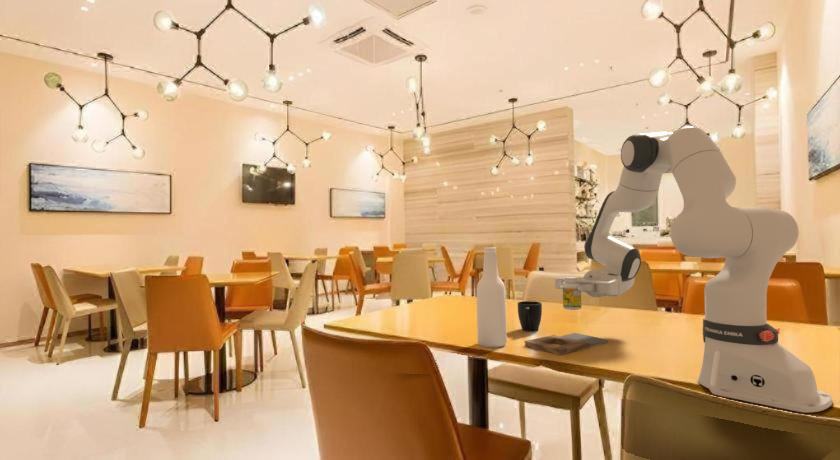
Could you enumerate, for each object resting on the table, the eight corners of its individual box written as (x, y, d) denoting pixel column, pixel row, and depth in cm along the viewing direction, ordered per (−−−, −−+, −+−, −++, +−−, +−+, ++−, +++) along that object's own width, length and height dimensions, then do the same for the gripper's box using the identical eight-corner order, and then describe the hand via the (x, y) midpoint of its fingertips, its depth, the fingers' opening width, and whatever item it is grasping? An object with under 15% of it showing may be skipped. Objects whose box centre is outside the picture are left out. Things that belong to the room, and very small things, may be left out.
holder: (589, 347, 134) (589, 342, 134) (560, 355, 126) (560, 349, 126) (553, 339, 144) (553, 334, 144) (525, 346, 137) (525, 341, 137)
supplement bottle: (585, 309, 138) (584, 277, 138) (570, 310, 137) (569, 278, 136) (574, 306, 143) (573, 276, 143) (559, 307, 142) (558, 276, 142)
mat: (607, 342, 140) (607, 339, 140) (589, 346, 134) (589, 344, 134) (575, 335, 149) (574, 332, 149) (557, 339, 144) (556, 336, 144)
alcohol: (476, 347, 136) (473, 248, 137) (479, 340, 145) (477, 246, 145) (505, 348, 134) (503, 247, 134) (507, 341, 143) (505, 246, 143)
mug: (513, 333, 154) (512, 305, 154) (520, 326, 165) (520, 300, 165) (538, 335, 150) (537, 306, 150) (544, 328, 161) (543, 301, 161)
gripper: (570, 271, 156) (543, 274, 148) (626, 275, 139) (598, 279, 131) (570, 289, 156) (543, 294, 148) (626, 296, 139) (599, 301, 131)
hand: (570, 287), depth 139 cm, fingers closed on supplement bottle, 5 cm apart
